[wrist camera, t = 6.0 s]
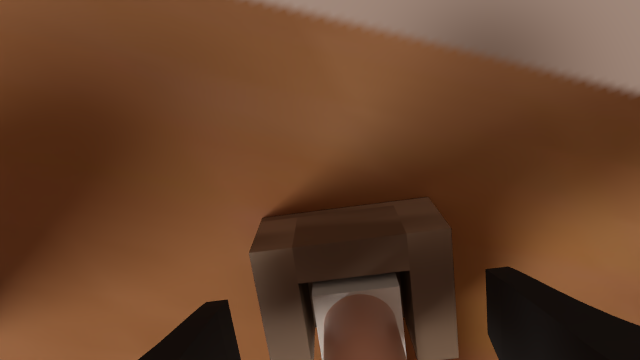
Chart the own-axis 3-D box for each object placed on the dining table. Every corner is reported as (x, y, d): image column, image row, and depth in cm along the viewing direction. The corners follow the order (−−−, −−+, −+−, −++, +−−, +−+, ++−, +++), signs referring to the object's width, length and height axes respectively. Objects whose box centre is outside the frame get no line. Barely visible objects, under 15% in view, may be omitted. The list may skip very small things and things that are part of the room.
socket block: (436, 307, 17) (458, 358, 14) (282, 324, 17) (273, 377, 14) (428, 197, 15) (451, 228, 13) (262, 217, 16) (248, 252, 13)
